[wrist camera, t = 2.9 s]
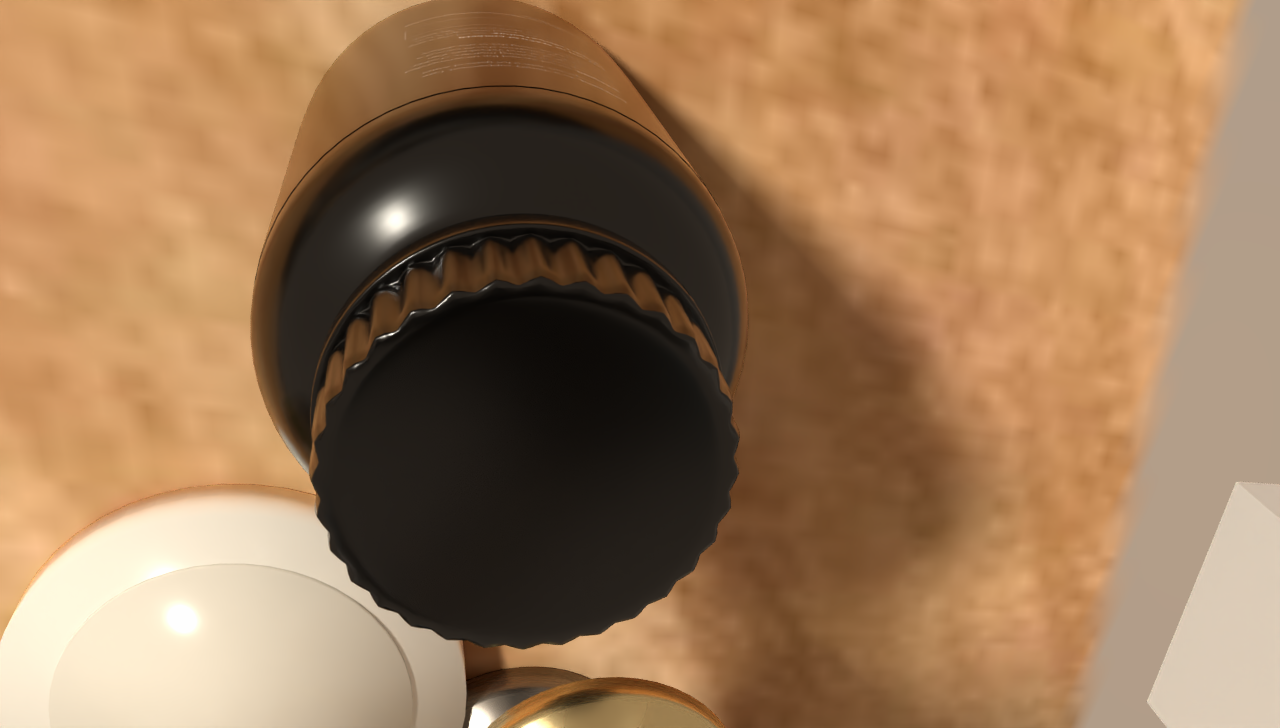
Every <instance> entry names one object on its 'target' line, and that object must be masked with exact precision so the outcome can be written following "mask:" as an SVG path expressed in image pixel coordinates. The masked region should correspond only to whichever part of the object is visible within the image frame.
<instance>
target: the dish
mask: <svg viewBox="0 0 1280 728" xmlns="http://www.w3.org/2000/svg"><path fill="white" fill-rule="evenodd" d="M315 498H316V495H313V494H308V493H304V492H300V491H296V490H291V489H287V488H280V487H272V486H263V485H255V484H218V485H207V486H197V487H189V488H184V489H179V490H175V491H170V492H165V493H161V494H157V495H154V496H151V497H148V498H145V499H142V500H139V501H136V502H133V503H130V504H128V505H126V506H124V507H122V508H120V509H117V510H115V511H113V512H111V513H109V514H107V515H105V516H103V517H101V518H99V519H98V520H96V521H95V522H93V523H92V524H90V525H89V526H87V527H85V528H84V529H82V530H81V531H79V532H78V533H76V534H75V535H74V536H73V537H72V538H70V539H69V540H68V541H67V542H66V543H65V544H63V545H62V546H61V547H60V548H59V549H58V550H56V551H55V552H54V554H53V555H52V556H51V557H50V558H49V559H48V560H47V562H46V563H45V564H44V565H43V566H42V567H41V568H40V570H39V571H38V572H37V573H36V575H35V576H34V578H33V580H32V581H31V583H30V584H29V586H28V588H27V589H26V591H25V592H24V594H23V596H22V598H21V600H20V602H19V604H18V606H17V608H16V610H15V612H14V614H13V616H12V618H11V620H10V622H9V624H8V626H7V628H6V630H5V632H4V635H3V637H2V640H1V642H0V728H462V727H463V723H464V719H465V710H466V694H467V692H466V674H465V657H464V647H463V640H457V641H454V640H445V639H444V638H442V637H440V636H439V635H438V634H436V633H435V632H434V631H432V630H430V629H425V628H416V627H411V626H410V625H409V624H407V623H406V622H405V621H404V620H403V619H402V617H401V616H400V615H399V614H398V613H395V612H393V611H388V610H385V609H382V608H380V607H378V606H377V605H376V603H375V602H374V600H373V598H372V596H371V594H370V593H369V591H367V590H365V589H363V588H361V587H359V586H357V585H356V584H354V583H353V582H351V581H350V578H349V575H348V572H347V568H346V564H345V563H343V562H342V561H341V560H339V559H338V558H337V557H336V556H335V555H334V554H333V553H332V552H331V551H330V549H329V546H328V531H327V530H326V529H325V528H324V526H323V525H322V524H321V522H320V521H319V520H318V518H317V517H316V514H315Z"/></svg>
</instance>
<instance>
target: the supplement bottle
mask: <svg viewBox="0 0 1280 728" xmlns="http://www.w3.org/2000/svg"><path fill="white" fill-rule="evenodd" d="M747 337H748V297H747V289H746V282H745V276H744V272H743V267H742V263H741V259H740V255H739V253H738V250H737V247H736V244H735V242H734V239H733V236H732V234H731V232H730V229H729V227H728V225H727V223H726V221H725V219H724V217H723V215H722V213H721V211H720V209H719V207H718V205H717V203H716V202H715V200H714V198H713V197H712V195H711V194H710V192H709V190H708V189H707V187H706V186H705V184H704V183H703V181H702V180H701V178H700V177H699V175H698V174H697V173H696V171H695V170H694V169H693V167H692V166H691V164H690V163H689V162H688V160H687V159H686V157H685V156H684V155H683V153H682V152H681V151H680V149H679V148H678V146H677V145H676V144H675V142H674V141H673V139H672V138H671V137H670V135H669V134H668V133H667V131H666V130H665V128H664V127H663V126H662V124H661V123H660V121H659V120H658V119H657V117H656V116H655V115H654V113H653V112H652V110H651V109H650V108H649V106H648V105H647V103H646V102H645V101H644V99H643V98H642V97H641V95H640V94H639V92H638V91H637V90H636V88H635V87H634V85H633V84H632V83H631V81H630V80H629V79H628V78H627V76H626V75H625V74H624V72H623V71H622V70H621V69H620V68H619V66H618V65H617V64H616V63H615V62H614V60H613V59H612V58H611V57H610V56H609V55H608V54H607V53H606V52H605V51H604V50H603V49H602V48H601V47H600V46H599V45H598V44H597V43H596V42H595V41H593V40H592V39H591V38H590V37H589V36H588V35H586V34H585V33H584V32H582V31H581V30H579V29H578V28H576V27H575V26H573V25H572V24H570V23H569V22H567V21H565V20H563V19H562V18H560V17H558V16H556V15H554V14H552V13H550V12H548V11H545V10H543V9H541V8H538V7H536V6H532V5H529V4H526V3H523V2H520V1H515V0H432V1H428V2H424V3H421V4H418V5H415V6H411V7H409V8H407V9H404V10H402V11H400V12H397V13H395V14H393V15H391V16H389V17H387V18H386V19H384V20H382V21H380V22H378V23H377V24H376V25H374V26H373V27H371V28H370V29H368V30H367V31H365V32H364V33H363V34H362V35H361V36H359V37H358V38H357V39H356V40H355V41H354V42H352V43H351V44H350V45H349V46H348V47H347V48H346V49H345V50H344V52H343V53H342V54H341V55H340V56H339V57H338V58H337V59H336V60H335V62H334V63H333V64H332V66H331V67H330V68H329V70H328V71H327V72H326V74H325V75H324V77H323V79H322V80H321V82H320V83H319V85H318V87H317V88H316V90H315V93H314V95H313V97H312V99H311V101H310V103H309V105H308V108H307V111H306V113H305V115H304V118H303V121H302V124H301V127H300V130H299V133H298V136H297V139H296V142H295V145H294V149H293V152H292V155H291V158H290V161H289V165H288V168H287V171H286V174H285V178H284V181H283V184H282V187H281V190H280V194H279V197H278V200H277V203H276V207H275V210H274V213H273V216H272V220H271V223H270V226H269V229H268V232H267V236H266V239H265V242H264V246H263V249H262V252H261V256H260V260H259V264H258V269H257V273H256V277H255V283H254V290H253V299H252V308H251V347H252V356H253V363H254V368H255V372H256V377H257V381H258V385H259V388H260V391H261V394H262V397H263V400H264V402H265V405H266V408H267V411H268V413H269V415H270V417H271V419H272V421H273V423H274V425H275V428H276V430H277V431H278V433H279V435H280V436H281V438H282V439H283V441H284V443H285V444H286V446H287V448H288V449H289V451H290V452H291V453H292V454H293V456H294V457H295V458H296V460H297V461H298V462H299V464H300V465H301V466H302V468H303V469H304V470H305V471H306V472H307V473H308V474H309V476H310V480H311V482H312V484H313V487H314V489H315V491H316V498H315V514H316V517H317V518H318V520H319V521H320V522H321V524H322V525H323V526H324V528H325V529H326V530H327V531H328V546H329V549H330V551H331V552H332V553H333V554H334V555H335V556H336V557H337V558H338V559H339V560H341V561H342V562H343V563H345V564H346V568H347V572H348V575H349V578H350V581H351V582H353V583H354V584H356V585H357V586H359V587H361V588H363V589H365V590H367V591H369V593H370V594H371V596H372V598H373V600H374V602H375V603H376V605H377V606H378V607H380V608H382V609H385V610H388V611H393V612H395V613H398V614H399V615H400V616H401V617H402V619H403V620H404V621H405V622H406V623H407V624H409V625H410V626H411V627H416V628H425V629H430V630H432V631H434V632H435V633H436V634H438V635H439V636H440V637H442V638H444V639H445V640H454V641H457V640H468V641H470V642H472V643H474V644H476V645H478V646H481V647H483V648H488V647H496V646H501V645H507V646H510V647H514V648H518V649H527V648H530V647H533V646H535V645H539V644H542V643H544V644H553V645H563V644H565V643H567V642H569V641H572V640H573V639H575V638H577V637H579V636H588V635H598V634H601V633H602V632H604V631H605V630H607V629H608V628H609V627H610V626H611V625H613V624H614V623H617V622H621V621H626V620H629V619H633V618H635V617H636V616H637V615H638V614H640V613H641V612H642V610H643V609H644V608H645V607H646V606H647V605H648V604H650V603H653V602H655V601H658V600H660V599H662V598H665V597H667V595H668V594H669V592H670V591H671V590H672V587H673V586H674V584H675V583H676V581H678V580H680V579H681V578H683V577H685V576H686V575H688V574H689V573H691V572H693V571H694V569H695V567H696V565H697V562H698V559H699V556H700V554H701V553H702V552H704V551H705V550H706V549H707V548H708V547H709V546H711V545H712V544H713V543H714V542H715V540H716V536H717V527H718V524H719V522H720V521H721V520H722V519H723V518H724V516H725V515H726V514H727V512H728V511H729V510H730V508H731V498H730V492H729V491H730V490H731V488H732V486H733V484H734V483H735V481H736V478H737V476H738V474H739V467H738V463H737V460H736V457H735V452H736V449H737V446H738V442H739V438H740V434H739V429H738V427H737V424H736V422H735V420H734V418H733V416H732V408H733V397H734V394H735V392H736V389H737V386H738V382H739V379H740V375H741V372H742V368H743V364H744V358H745V353H746V347H747Z"/></svg>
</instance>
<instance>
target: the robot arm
mask: <svg viewBox="0 0 1280 728" xmlns="http://www.w3.org/2000/svg"><path fill="white" fill-rule="evenodd" d="M1147 703H1148V704H1149V706H1150V707H1151V708H1152V709H1153V711H1154V712H1155V713H1156V714H1157V716H1158V717H1159V718H1160V720H1161V721H1162V722H1163V723H1164V725H1165V726H1166V727H1167V728H1280V484H1265V483H1248V482H1236V484H1235V487H1234V489H1233V491H1232V494H1231V496H1230V499H1229V501H1228V504H1227V506H1226V509H1225V511H1224V514H1223V516H1222V518H1221V521H1220V523H1219V526H1218V528H1217V531H1216V533H1215V536H1214V538H1213V541H1212V543H1211V546H1210V548H1209V550H1208V553H1207V555H1206V558H1205V560H1204V563H1203V565H1202V568H1201V570H1200V573H1199V575H1198V577H1197V580H1196V583H1195V585H1194V587H1193V590H1192V592H1191V595H1190V597H1189V600H1188V602H1187V605H1186V607H1185V610H1184V612H1183V614H1182V617H1181V619H1180V622H1179V624H1178V627H1177V629H1176V632H1175V634H1174V637H1173V639H1172V641H1171V644H1170V646H1169V649H1168V651H1167V654H1166V656H1165V659H1164V661H1163V664H1162V666H1161V669H1160V671H1159V673H1158V676H1157V678H1156V681H1155V683H1154V686H1153V688H1152V691H1151V693H1150V696H1149V698H1148V700H1147Z"/></svg>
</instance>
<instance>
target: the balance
mask: <svg viewBox="0 0 1280 728" xmlns="http://www.w3.org/2000/svg"><path fill="white" fill-rule="evenodd" d="M466 692H467V694H466V710H465V719H464V723H463V727H462V728H725V726H724V725H723V723H722V722H721V721H720V720H719V719H718V717H717V716H716V715H715V714H714V713H713V712H712V711H711V710H709V709H708V708H707V707H706V706H705V705H704V704H702V703H701V702H699V701H698V700H696V699H695V698H693V697H692V696H690V695H688V694H686V693H684V692H682V691H680V690H678V689H676V688H673V687H670V686H667V685H664V684H661V683H658V682H653V681H648V680H643V679H636V678H623V677H610V678H595V679H588V678H586V677H584V676H582V675H578V674H575V673H572V672H569V671H564V670H559V669H554V668H544V667H519V668H511V669H504V670H499V671H495V672H491V673H487V674H484V675H481V676H479V677H476V678H473V679H470V680H468V681H466Z"/></svg>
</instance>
